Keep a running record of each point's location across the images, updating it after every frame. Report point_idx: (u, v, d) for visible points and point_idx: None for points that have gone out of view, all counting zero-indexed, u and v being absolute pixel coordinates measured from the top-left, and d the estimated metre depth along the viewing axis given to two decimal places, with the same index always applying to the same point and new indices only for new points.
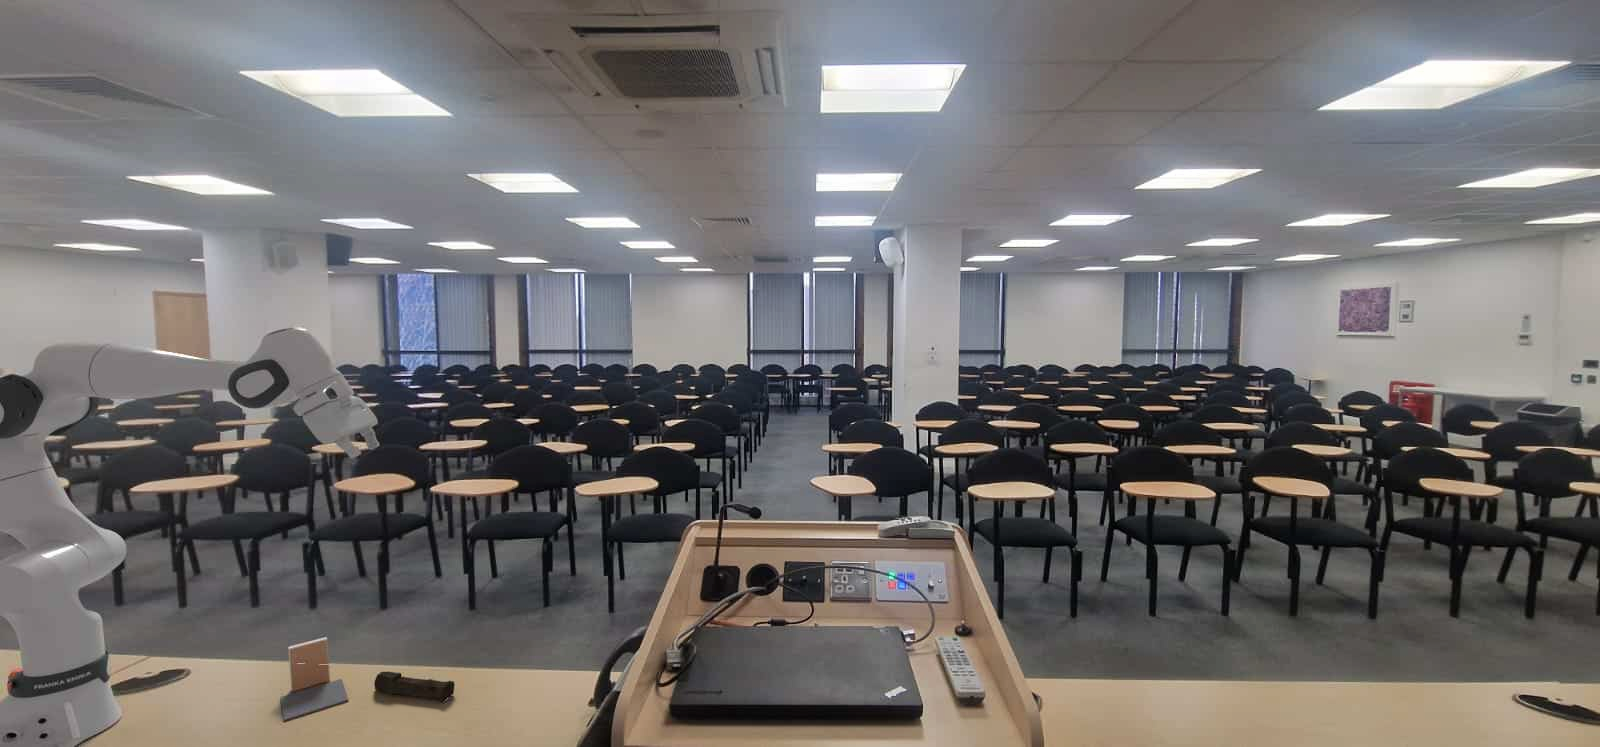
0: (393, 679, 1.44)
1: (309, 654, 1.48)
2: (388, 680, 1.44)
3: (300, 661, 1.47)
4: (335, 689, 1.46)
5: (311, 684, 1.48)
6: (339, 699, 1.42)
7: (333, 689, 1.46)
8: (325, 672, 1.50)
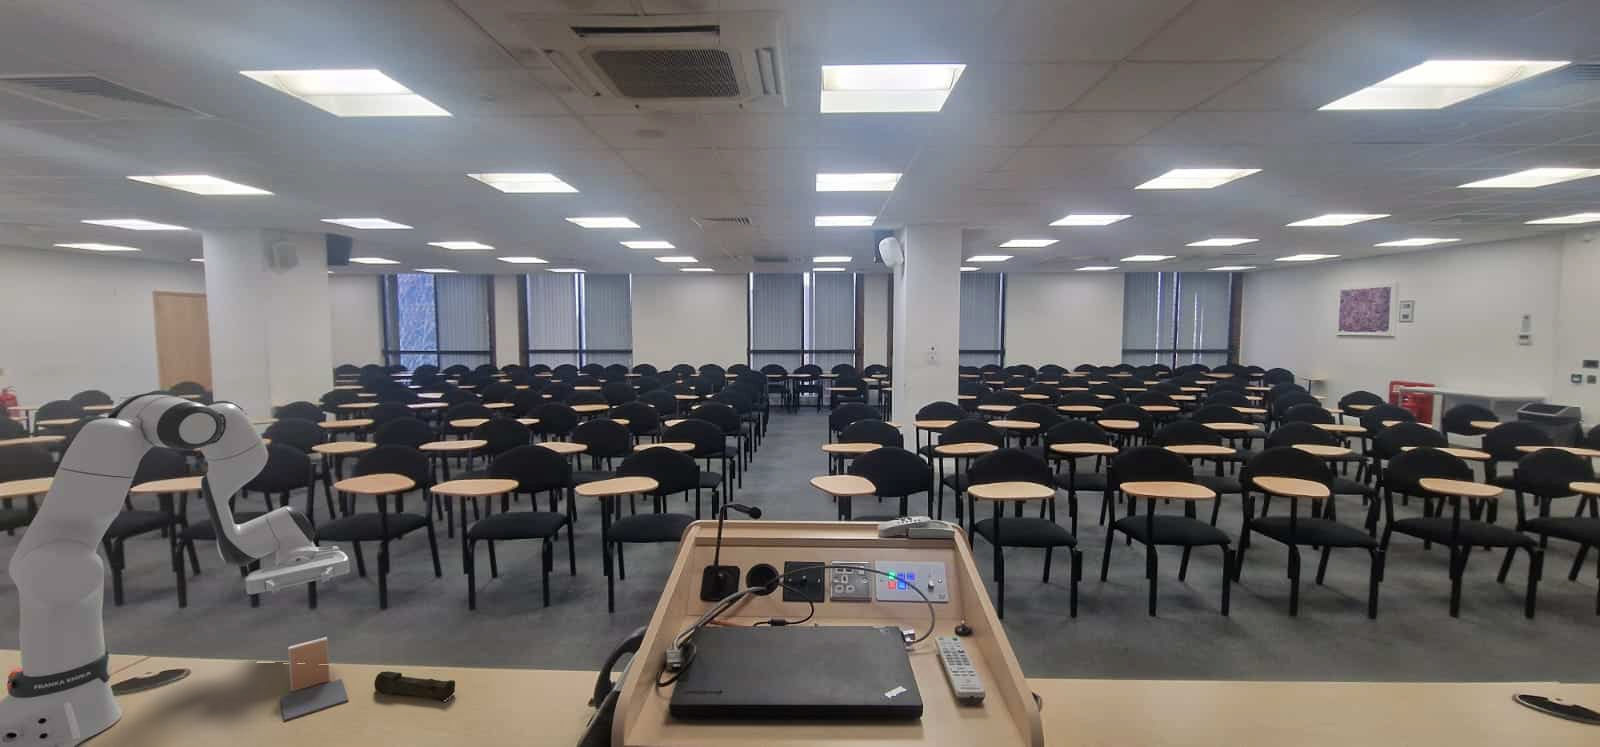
0: (393, 679, 1.44)
1: (309, 654, 1.48)
2: (388, 680, 1.44)
3: (300, 661, 1.47)
4: (335, 689, 1.46)
5: (311, 684, 1.48)
6: (339, 699, 1.42)
7: (333, 689, 1.46)
8: (325, 672, 1.50)
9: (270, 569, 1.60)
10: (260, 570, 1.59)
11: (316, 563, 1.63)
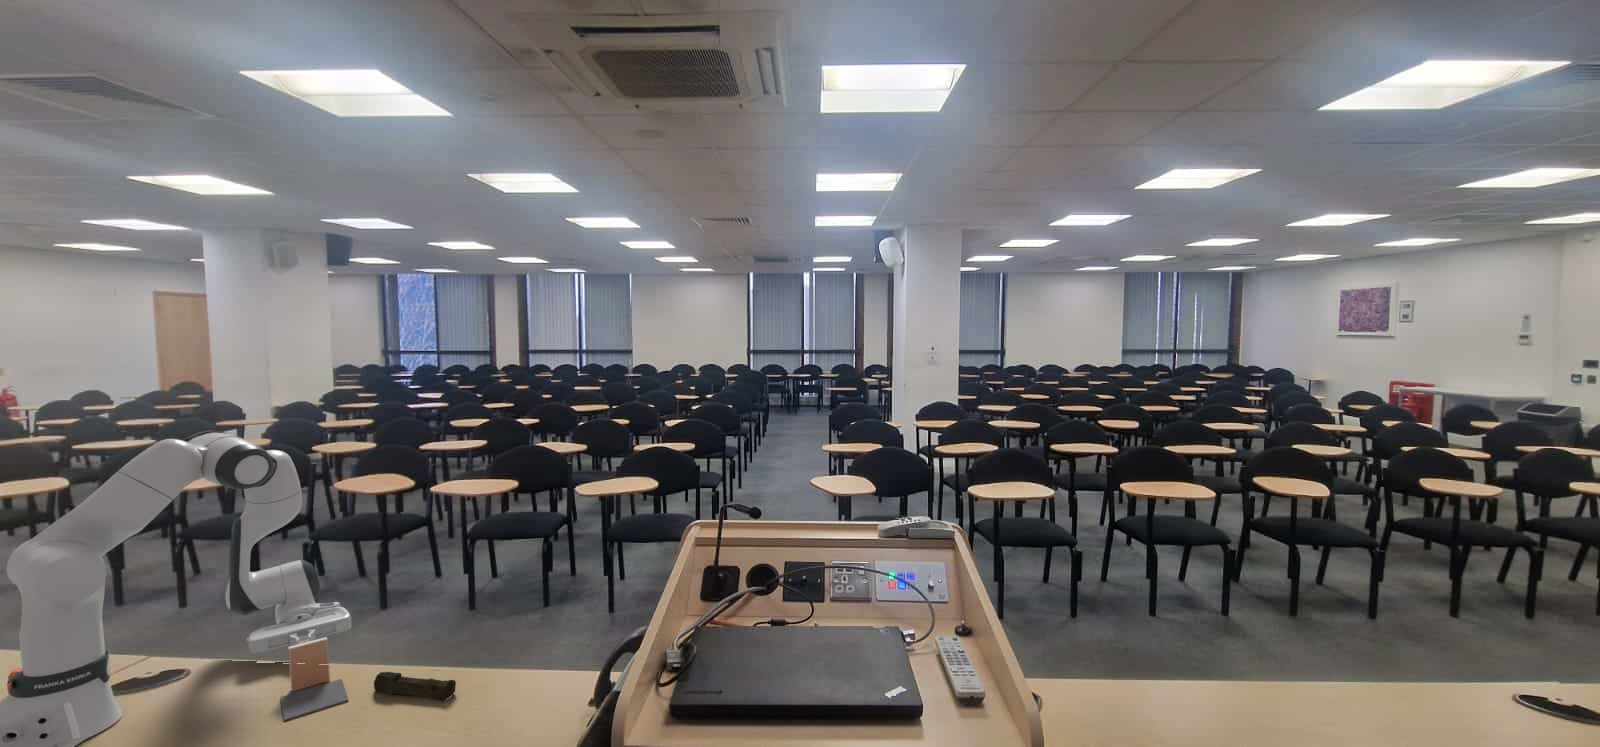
0: (393, 679, 1.44)
1: (309, 654, 1.48)
2: (388, 681, 1.44)
3: (300, 661, 1.47)
4: (335, 689, 1.46)
5: (311, 684, 1.48)
6: (339, 699, 1.42)
7: (333, 689, 1.46)
8: (325, 672, 1.50)
9: (272, 628, 1.61)
10: (262, 629, 1.60)
11: (318, 620, 1.65)
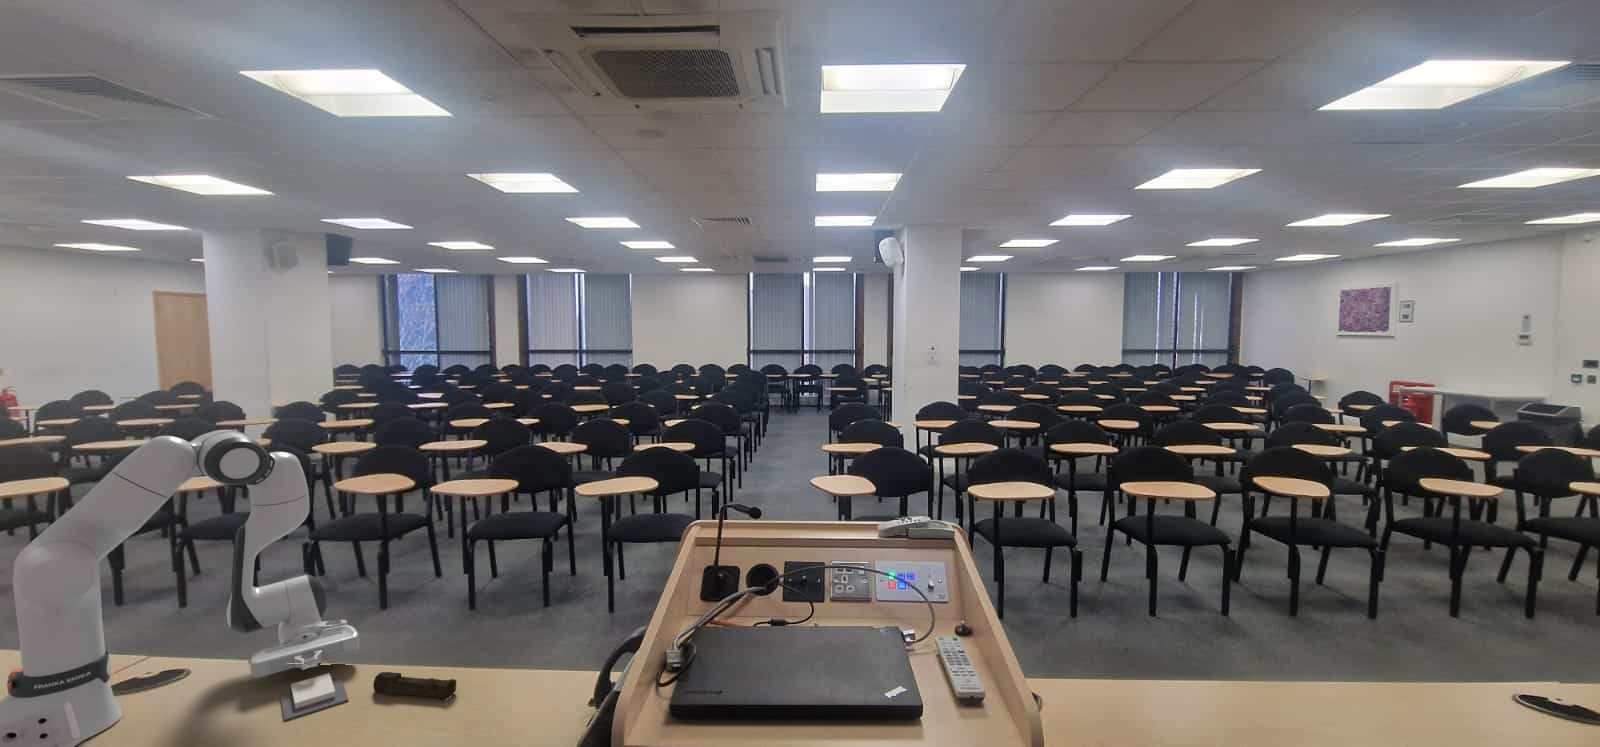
0: (393, 679, 1.44)
1: None
2: (388, 681, 1.44)
3: None
4: (335, 689, 1.46)
5: None
6: (339, 699, 1.42)
7: None
8: None
9: (275, 648, 1.51)
10: (264, 650, 1.50)
11: (324, 640, 1.54)
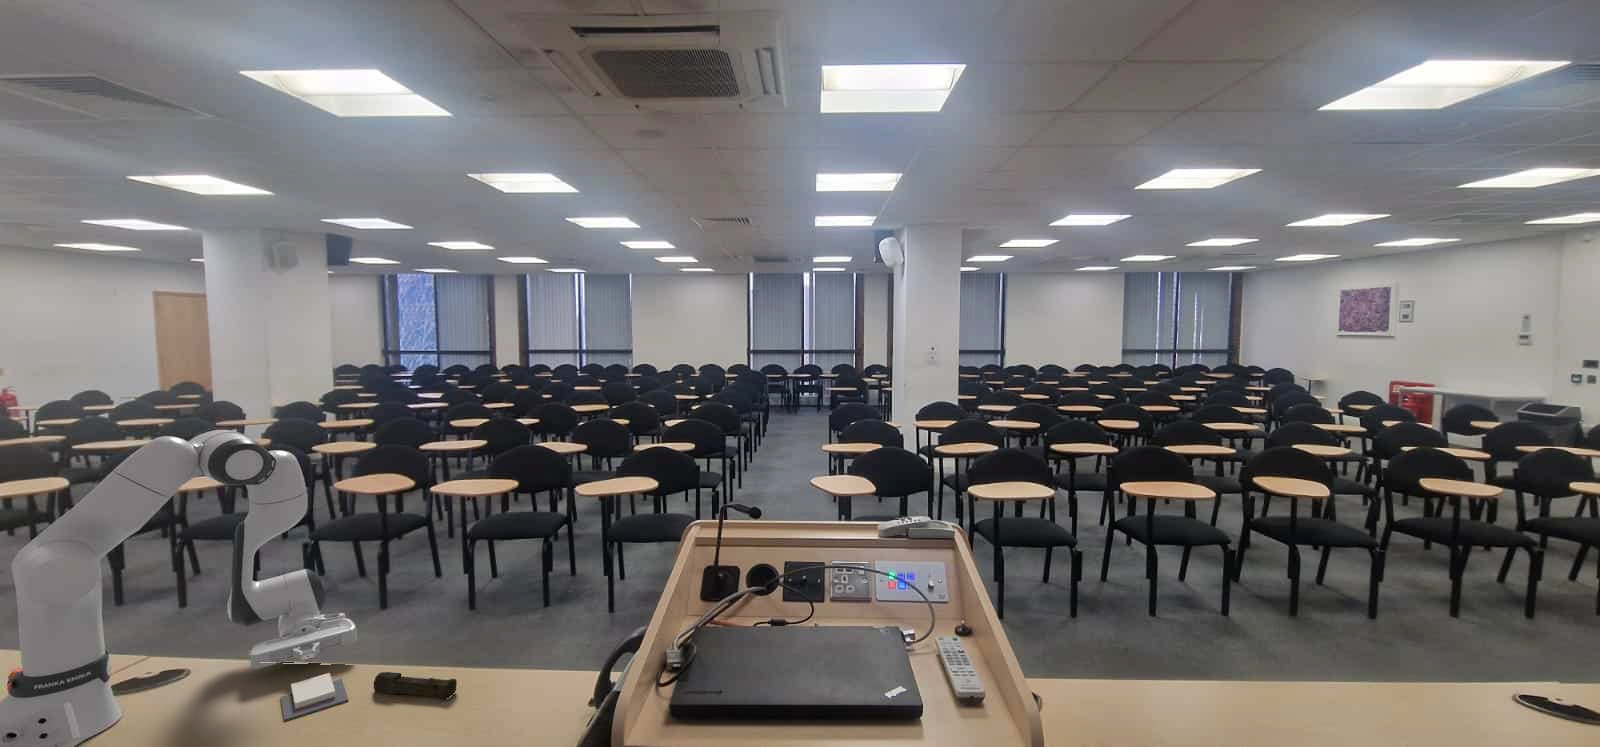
0: (393, 679, 1.44)
1: None
2: (388, 681, 1.44)
3: None
4: (335, 689, 1.46)
5: None
6: (339, 699, 1.42)
7: None
8: None
9: (275, 641, 1.54)
10: (264, 642, 1.54)
11: (322, 633, 1.58)
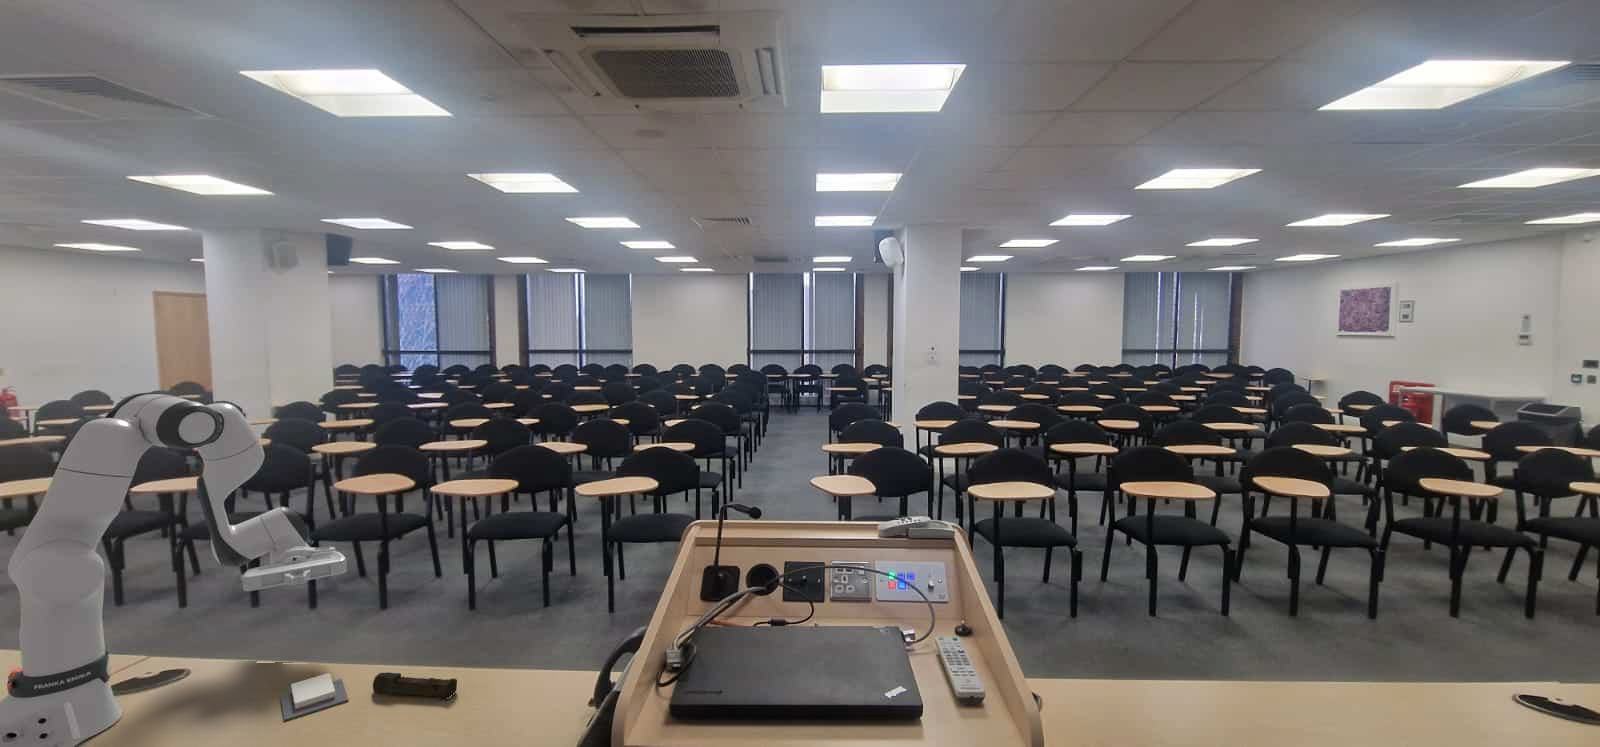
0: (393, 679, 1.44)
1: None
2: (388, 681, 1.44)
3: None
4: (335, 689, 1.46)
5: None
6: (339, 699, 1.42)
7: None
8: None
9: (266, 567, 1.60)
10: (256, 568, 1.59)
11: (313, 562, 1.63)
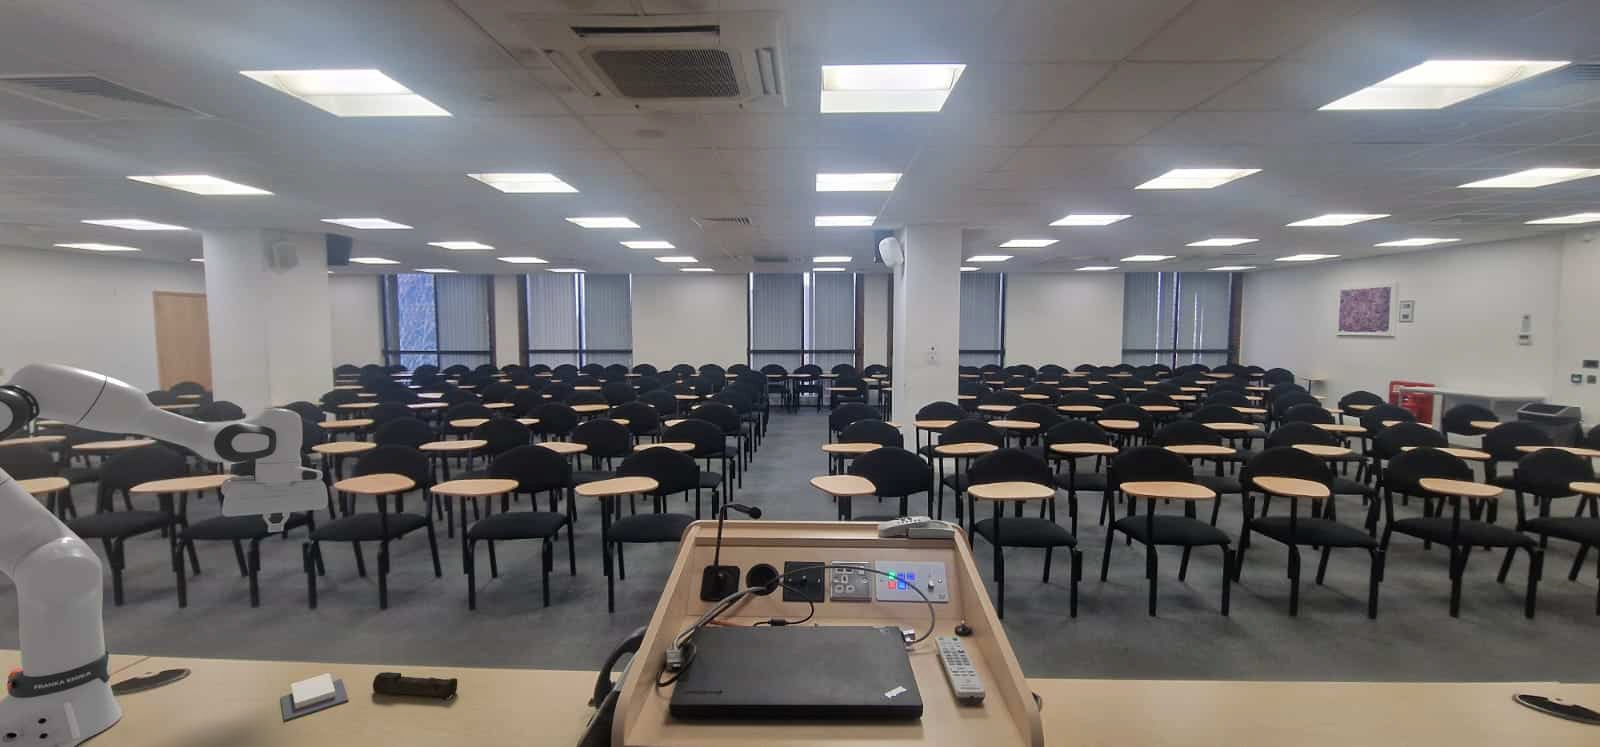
0: (393, 679, 1.44)
1: None
2: (388, 681, 1.44)
3: None
4: (335, 689, 1.46)
5: None
6: (339, 699, 1.42)
7: None
8: None
9: (248, 491, 1.56)
10: (238, 490, 1.54)
11: (295, 501, 1.61)
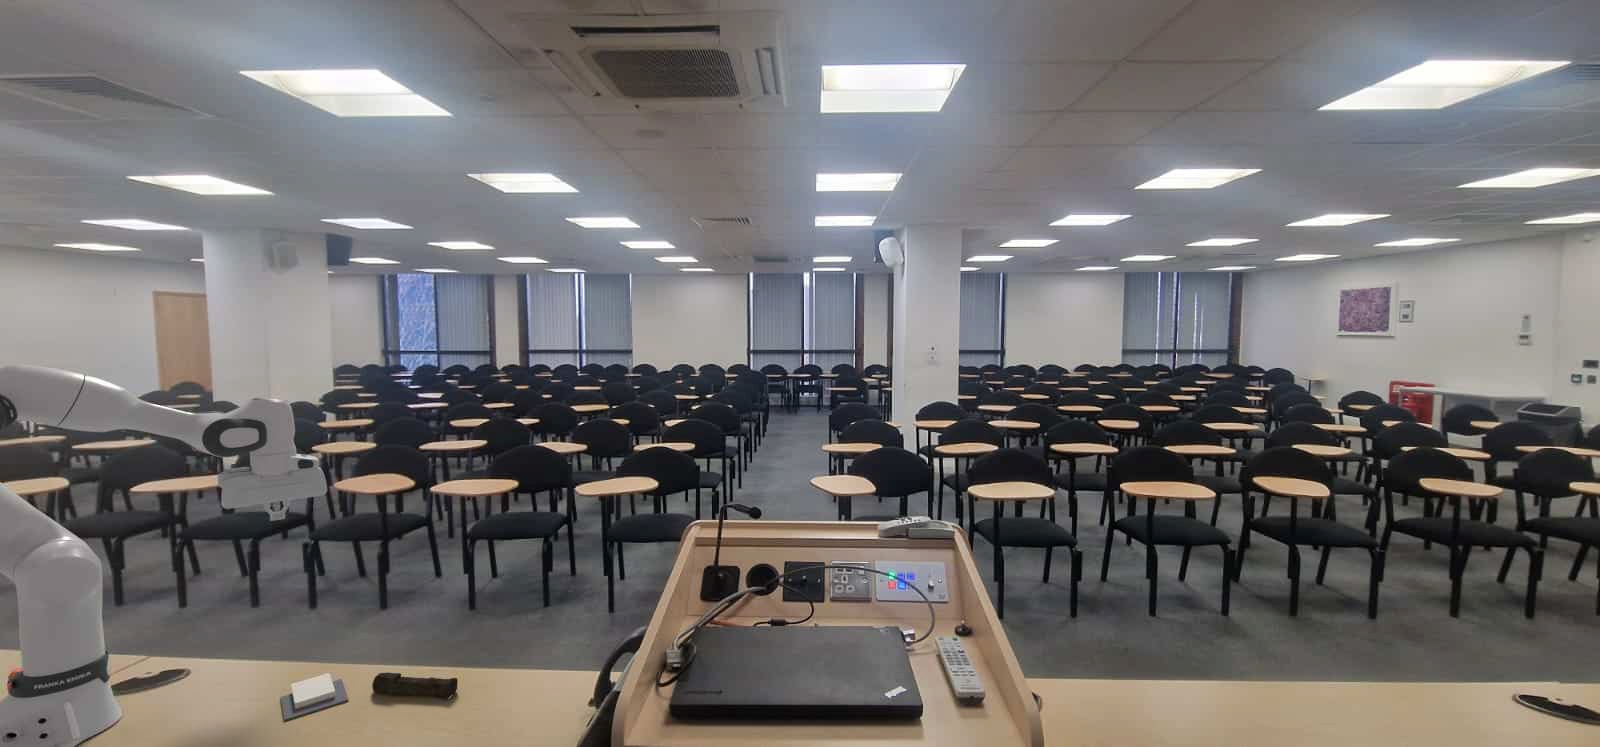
0: (393, 679, 1.44)
1: None
2: (388, 681, 1.44)
3: None
4: (335, 689, 1.46)
5: None
6: (339, 699, 1.42)
7: None
8: None
9: (246, 483, 1.55)
10: (235, 483, 1.54)
11: (294, 489, 1.61)
